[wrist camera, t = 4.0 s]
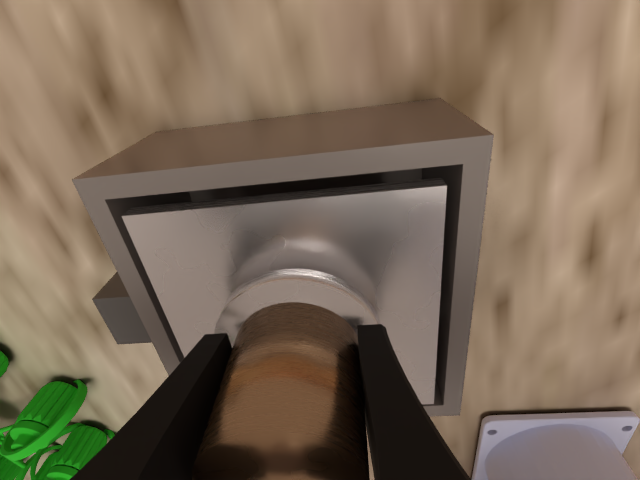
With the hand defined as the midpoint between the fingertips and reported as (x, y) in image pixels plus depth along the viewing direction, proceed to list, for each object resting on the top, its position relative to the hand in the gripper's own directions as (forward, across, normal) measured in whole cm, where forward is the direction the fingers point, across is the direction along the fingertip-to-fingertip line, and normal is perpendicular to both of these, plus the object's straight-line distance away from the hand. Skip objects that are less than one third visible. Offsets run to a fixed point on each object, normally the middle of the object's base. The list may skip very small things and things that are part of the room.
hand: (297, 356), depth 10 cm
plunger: (+2, 0, 0) cm, 2 cm away
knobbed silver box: (+6, 0, 0) cm, 6 cm away
